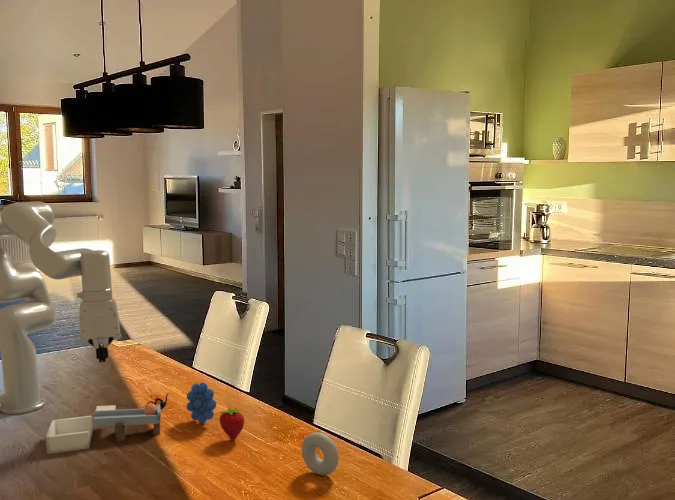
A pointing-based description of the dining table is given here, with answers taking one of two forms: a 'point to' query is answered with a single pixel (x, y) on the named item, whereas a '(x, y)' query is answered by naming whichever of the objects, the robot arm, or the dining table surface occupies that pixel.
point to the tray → (69, 434)
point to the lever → (123, 416)
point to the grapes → (201, 402)
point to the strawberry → (232, 422)
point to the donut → (326, 447)
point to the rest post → (156, 429)
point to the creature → (162, 404)
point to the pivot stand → (120, 432)
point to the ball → (150, 409)
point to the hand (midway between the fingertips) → (102, 360)
